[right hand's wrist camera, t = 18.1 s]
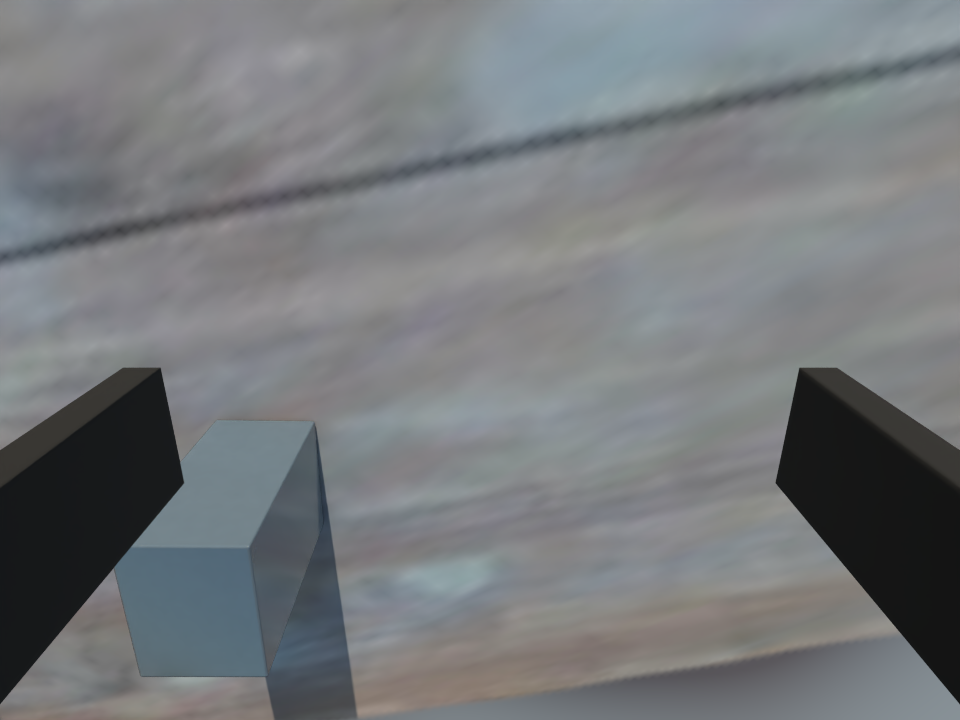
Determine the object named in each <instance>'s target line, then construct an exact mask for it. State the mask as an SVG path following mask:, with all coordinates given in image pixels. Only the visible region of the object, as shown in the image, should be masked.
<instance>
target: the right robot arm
mask: <svg viewBox="0 0 960 720" xmlns="http://www.w3.org/2000/svg"><path fill="white" fill-rule="evenodd" d="M183 484H184V479H183V474H182V469H181V464H180V459H179V454H178V450H177V445H176V440H175V435H174V430H173V426H172V421H171V416H170V411H169V406H168V402H167V397H166V392H165V387H164V382H163V377H162V373H161V368H122V369H121V370H119V371H118V372H116V373H115V374H113V375H112V376H110V377H109V378H107V379H106V380H104V381H103V382H101V383H100V384H98V385H97V386H95V387H94V388H92V389H91V390H89V391H88V392H86V393H85V394H83V395H82V396H80V397H79V398H77V399H76V400H74V401H73V402H72V403H70V404H69V405H67V406H66V407H64V408H63V409H61V410H60V411H58V412H57V413H55V414H54V415H52V416H51V417H49V418H48V419H46V420H45V421H43V422H42V423H40V424H39V425H37V426H36V427H34V428H33V429H31V430H30V431H28V432H27V433H25V434H24V435H22V436H21V437H19V438H18V439H16V440H15V441H13V442H12V443H10V444H9V445H7V446H6V447H4V448H3V449H1V450H0V704H1V702H2V701H3V700H4V699H5V698H6V696H7V695H8V694H9V693H10V692H11V690H12V689H13V688H14V687H15V686H16V684H17V683H18V682H19V681H20V680H21V678H22V677H23V676H24V675H25V674H26V672H27V671H28V670H29V669H30V668H31V666H32V665H33V664H34V663H35V662H36V660H37V659H38V658H39V657H40V656H41V654H42V653H43V652H44V651H45V650H46V648H47V647H48V646H49V645H50V644H51V643H52V641H53V640H54V639H55V638H56V637H57V635H58V634H59V633H60V632H61V631H62V629H63V628H64V627H65V626H66V625H67V623H68V622H69V621H70V620H71V619H72V617H73V616H74V615H75V614H76V613H77V611H78V610H79V609H80V608H81V607H82V605H83V604H84V603H85V602H86V601H87V599H88V598H89V597H90V596H91V595H92V593H93V592H94V591H95V590H96V589H97V587H98V586H99V585H100V584H101V583H102V581H103V580H104V579H105V578H106V577H107V575H108V574H109V573H110V572H111V571H112V569H113V568H114V567H115V566H116V565H117V563H118V562H119V561H120V560H121V559H122V557H123V556H124V555H125V554H126V553H127V551H128V550H129V549H130V548H131V547H132V545H133V544H134V543H135V542H136V541H137V539H138V538H139V537H140V536H141V535H142V533H143V532H144V531H145V530H146V529H147V527H148V526H149V525H150V524H151V523H152V521H153V520H154V519H155V518H156V517H157V515H158V514H159V513H160V512H161V511H162V509H163V508H164V507H165V506H166V505H167V503H168V502H169V501H170V500H171V499H172V497H173V496H174V495H175V494H176V493H177V491H178V490H179V489H180V488H181V487H182V485H183ZM776 484H777V485H778V487H779V488H780V489H781V490H782V491H783V493H784V494H785V495H786V496H787V497H788V499H789V500H790V501H791V502H792V503H793V505H794V506H795V507H796V508H797V509H798V511H799V512H800V513H801V514H802V515H803V517H804V518H805V519H806V520H807V521H808V523H809V524H810V525H811V526H812V527H813V529H814V530H815V531H816V532H817V533H818V535H819V536H820V537H821V538H822V539H823V541H824V542H825V543H826V544H827V545H828V547H829V548H830V549H831V550H832V551H833V553H834V554H835V555H836V556H837V557H838V559H839V560H840V561H841V562H842V563H843V565H844V566H845V567H846V568H847V569H848V571H849V572H850V573H851V574H852V575H853V577H854V578H855V579H856V580H857V581H858V583H859V584H860V585H861V586H862V587H863V589H864V590H865V591H866V592H867V593H868V595H869V596H870V597H871V598H872V599H873V601H874V602H875V603H876V604H877V605H878V607H879V608H880V609H881V610H882V611H883V613H884V614H885V615H886V616H887V617H888V619H889V620H890V621H891V622H892V623H893V625H894V626H895V627H896V628H897V629H898V631H899V632H900V633H901V634H902V635H903V637H904V638H905V639H906V640H907V641H908V642H909V644H910V645H911V646H912V647H913V648H914V650H915V651H916V652H917V653H918V654H919V656H920V657H921V658H922V659H923V660H924V662H925V663H926V664H927V665H928V666H929V668H930V669H931V670H932V671H933V672H934V674H935V675H936V676H937V677H938V678H939V680H940V681H941V682H942V683H943V684H944V686H945V687H946V688H947V689H948V690H949V692H950V693H951V694H952V695H953V696H954V698H955V699H956V700H957V701H958V702H959V704H960V450H959V449H957V448H956V447H954V446H953V445H951V444H950V443H948V442H947V441H945V440H944V439H942V438H941V437H939V436H938V435H936V434H935V433H933V432H932V431H930V430H929V429H927V428H926V427H924V426H923V425H921V424H920V423H918V422H917V421H915V420H914V419H912V418H911V417H909V416H908V415H906V414H905V413H903V412H902V411H900V410H899V409H897V408H896V407H894V406H893V405H891V404H890V403H888V402H887V401H886V400H884V399H883V398H881V397H880V396H878V395H877V394H875V393H874V392H872V391H871V390H869V389H868V388H866V387H865V386H863V385H862V384H860V383H859V382H857V381H856V380H854V379H853V378H851V377H850V376H848V375H847V374H845V373H844V372H842V371H841V370H839V369H838V368H799V373H798V377H797V382H796V387H795V392H794V397H793V402H792V406H791V411H790V416H789V421H788V426H787V430H786V435H785V440H784V445H783V450H782V454H781V459H780V464H779V469H778V474H777V479H776Z"/></svg>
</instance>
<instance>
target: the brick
mask: <svg viewBox="0 0 960 720" xmlns="http://www.w3.org/2000/svg"><path fill="white" fill-rule="evenodd" d="M180 464H181V469H182V474H183V479H184V484H183V485H182V487H181V488H180V489H179V490H178V491H177V493H176V494H175V495H174V496H173V497H172V499H171V500H170V501H169V502H168V503H167V505H166V506H165V507H164V508H163V509H162V511H161V512H160V513H159V514H158V515H157V517H156V518H155V519H154V520H153V521H152V523H151V524H150V525H149V526H148V527H147V529H146V530H145V531H144V532H143V533H142V535H141V536H140V537H139V538H138V539H137V541H136V542H135V543H134V544H133V545H132V547H131V548H130V549H129V550H128V551H127V553H126V554H125V555H124V556H123V557H122V559H121V560H120V561H119V562H118V563H117V565H116V566H115V567H114V571H115V575H116V579H117V584H118V588H119V592H120V596H121V600H122V604H123V608H124V612H125V616H126V620H127V624H128V628H129V632H130V636H131V640H132V644H133V648H134V652H135V656H136V660H137V664H138V668H139V672H140V676H142V677H267V676H268V674H269V671H270V669H271V666H272V663H273V660H274V658H275V655H276V652H277V649H278V647H279V644H280V641H281V639H282V636H283V633H284V630H285V628H286V625H287V622H288V619H289V617H290V614H291V611H292V608H293V606H294V603H295V600H296V597H297V595H298V592H299V589H300V586H301V584H302V581H303V578H304V576H305V573H306V570H307V567H308V565H309V562H310V559H311V556H312V554H313V551H314V548H315V545H316V543H317V540H318V537H319V534H320V532H321V529H322V526H323V513H322V501H321V489H320V478H319V466H318V455H317V443H316V432H315V422H314V421H252V420H216V421H215V422H214V423H213V425H212V426H211V427H210V428H209V429H208V430H207V432H206V433H205V434H204V435H203V436H202V437H201V439H200V440H199V441H198V442H197V443H196V444H195V446H194V447H193V448H192V449H191V450H190V451H189V452H188V454H187V455H186V456H185V457H184V458H183V459H182V461H181V462H180Z"/></svg>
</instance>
